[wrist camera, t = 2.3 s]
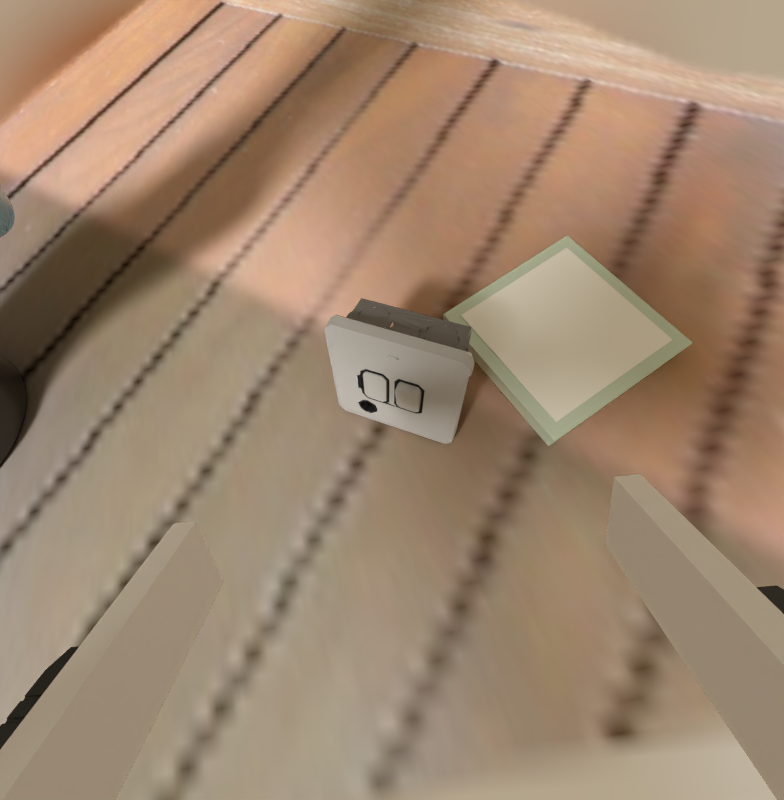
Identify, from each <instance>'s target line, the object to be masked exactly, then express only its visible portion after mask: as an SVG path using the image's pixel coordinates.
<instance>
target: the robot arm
mask: <svg viewBox="0 0 784 800" xmlns="http://www.w3.org/2000/svg"><path fill="white" fill-rule="evenodd" d="M13 224H14V210H13V207H12V205H11V203H10V201H9V199H8V197H7V195H6V194H5V192H4V191H3V189H2V188H1V187H0V238H1V237H2V236H4V235H5V234H6V233H8V232H9V230H10V229H11V228H12V226H13ZM25 408H26V390H25V385H24V382H23V379H22V377H21V375H20V373H19V372H18V370H17V369H16V368H15V367H14V366H13V365H12V364H11V363H10V362H8V361H6V360H4V359H2V358H0V464H1V462H2V461H3V459H4V458H5V457H6V455H7V454H8V452H9V450H10V449H11V447H12V445H13V444H14V442H15V440H16V438H17V435H18V433H19V431H20V428H21V425H22V422H23V418H24V414H25ZM605 545H606V547H607V548H608V550H609V551H610V553H611V554H612V556H613V557H614V559H615V560H616V562H617V563H618V565H619V566H620V568H621V569H622V571H623V572H624V574H625V575H626V577H627V578H628V579H629V581H630V582H631V584H632V585H633V587H634V588H635V590H636V591H637V593H638V594H639V596H640V597H641V599H642V600H643V602H644V603H645V605H646V606H647V608H648V609H649V611H650V612H651V614H652V615H653V617H654V618H655V619H656V621H657V622H658V624H659V625H660V627H661V628H662V630H663V631H664V633H665V634H666V636H667V637H668V639H669V640H670V642H671V643H672V645H673V646H674V648H675V649H676V651H677V652H678V654H679V655H680V656H681V658H682V659H683V661H684V662H685V664H686V665H687V667H688V668H689V670H690V671H691V673H692V674H693V676H694V677H695V679H696V680H697V682H698V683H699V685H700V686H701V688H702V689H703V691H704V692H705V693H706V695H707V696H708V698H709V699H710V701H711V702H712V704H713V705H714V707H715V708H716V710H717V711H718V713H719V714H720V716H721V717H722V719H723V720H724V722H725V723H726V725H727V726H728V728H729V729H730V730H731V732H732V733H733V735H734V736H735V738H736V739H737V741H738V742H739V744H740V745H741V747H742V748H743V750H744V751H745V753H746V754H747V756H748V757H749V759H750V760H751V761H752V763H753V764H754V766H755V767H756V769H757V770H758V772H759V773H760V775H761V776H762V778H763V779H764V781H765V782H766V784H767V785H768V786H769V788H770V790H771V791H772V793H773V794H774V796H775V797H776V798H777V800H784V590H783V589H782V588H780V587H778V586H766V587H755V586H754V585H753V584H752V583H751V582H750V581H749V580H748V579H747V578H746V577H745V576H744V575H743V574H742V573H741V572H740V571H739V570H738V569H737V568H736V567H735V566H734V565H733V564H732V563H731V562H730V561H729V560H728V559H727V558H726V557H725V556H724V555H723V554H722V553H721V552H720V551H719V550H718V549H717V548H716V547H714V546H713V545H712V544H711V543H710V542H709V541H708V540H707V539H706V538H705V537H704V536H703V535H702V534H701V533H700V532H699V531H698V530H697V529H696V528H695V527H694V526H693V525H692V524H691V523H690V522H689V521H688V520H687V519H686V518H685V517H684V516H683V515H682V514H681V513H680V512H679V511H678V510H677V509H676V508H675V507H674V506H673V505H672V504H671V503H669V502H668V501H667V500H666V499H665V498H664V497H663V496H662V495H661V494H660V493H659V492H658V491H657V490H656V489H655V488H654V487H653V486H652V485H651V484H650V483H649V482H648V481H647V480H646V479H645V478H644V477H643V476H642V475H641V474H635V475H626V476H616V477H614V480H613V488H612V496H611V504H610V512H609V520H608V528H607V536H606V544H605ZM223 582H224V581H223V579H222V577H221V575H220V572H219V570H218V568H217V566H216V564H215V561H214V559H213V557H212V555H211V553H210V550H209V548H208V546H207V544H206V542H205V539H204V537H203V535H202V533H201V531H200V528H199V526H198V524H197V522H196V521H193V522H184V523H174V524H173V525H172V526H171V528H170V529H169V530H168V532H167V533H166V534H165V536H164V537H163V538H162V539H161V541H160V542H159V543H158V545H157V546H156V547H155V549H154V550H153V551H152V552H151V554H150V555H149V556H148V558H147V559H146V560H145V562H144V563H143V564H142V565H141V567H140V568H139V569H138V571H137V572H136V573H135V575H134V576H133V577H132V579H131V580H130V581H129V582H128V584H127V585H126V586H125V588H124V589H123V590H122V592H121V593H120V594H119V595H118V597H117V598H116V599H115V601H114V602H113V603H112V605H111V606H110V607H109V609H108V610H107V611H106V612H105V614H104V615H103V616H102V618H101V619H100V620H99V622H98V623H97V624H96V625H95V627H94V628H93V629H92V631H91V632H90V633H89V635H88V636H87V637H86V638H85V640H84V641H83V642H82V644H81V645H80V646H79V647H71V648H70V649H68V650H67V651H66V652H65V653H64V654H63V655H62V656H61V657H60V658H58V659H57V660H56V661H55V662H54V663H53V664H52V665H51V666H49V667H48V668H47V669H46V670H45V671H44V673H43V674H42V675H41V676H40V678H39V679H38V680H37V681H36V683H35V684H34V685H33V686H32V687H31V689H30V690H29V691H28V692H27V694H26V695H25V699H24V700H23V701H20V702H19V704H18V705H17V706H16V707H15V709H14V710H13V711H12V712H11V714H10V715H9V716H8V717H7V721H6V723H5V724H2V725H1V726H0V800H116V798H117V796H118V794H119V792H120V790H121V788H122V786H123V784H124V782H125V780H126V778H127V776H128V774H129V772H130V770H131V768H132V766H133V764H134V762H135V759H136V757H137V755H138V753H139V751H140V749H141V747H142V745H143V743H144V741H145V739H146V737H147V735H148V733H149V731H150V729H151V727H152V725H153V723H154V721H155V719H156V717H157V715H158V713H159V711H160V709H161V707H162V705H163V703H164V701H165V699H166V697H167V695H168V693H169V691H170V689H171V687H172V685H173V683H174V681H175V679H176V677H177V675H178V673H179V671H180V669H181V667H182V665H183V663H184V661H185V659H186V656H187V654H188V652H189V650H190V648H191V646H192V644H193V642H194V640H195V638H196V636H197V634H198V632H199V630H200V628H201V626H202V624H203V622H204V620H205V618H206V616H207V614H208V612H209V610H210V608H211V606H212V604H213V602H214V600H215V598H216V596H217V594H218V592H219V590H220V588H221V586H222V584H223Z"/></svg>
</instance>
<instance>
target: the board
mask: <svg viewBox="0 0 784 800" xmlns="http://www.w3.org/2000/svg"><path fill="white" fill-rule="evenodd" d="M443 320H446V321H450V322H454V323H458V324H462V325H466V326H469V327H471V331H472V332H471V331H470V333H471V337H470V341H469V346H468V351H467V352H470V353H471V354H472V356H473V359H474V361H475V362H476V363H477V364H478V365H479V366H480V368H481V369H482V370H483V371H484V372H485V373H486V374H487V376H488V377H489V378H490V379H491V380H492V381H493V383H494V384H495V385H496V386H497V387H498V388H499V390H500V391H501V392H502V393H503V394H504V395H505V397H506V398H507V399H508V400H509V401H510V402H511V404H512V405H513V406H514V407H515V408H516V409H517V410H518V412H519V413H520V414H521V415H522V416H523V417H524V419H525V420H526V421H527V422H528V423H529V424H530V426H531V427H532V428H533V429H534V430H535V431H536V433H537V434H538V435H539V436H540V437H541V438H542V439H543V441H544V442H545V443H546V444H547V445H548V446H550V445H551V444H553V443H554V442H555V441H557V440H558V439H560V438H561V437H562V436H564V435H565V434H567V433H568V432H569V431H571V430H572V429H574V428H575V427H576V426H578V425H579V424H581V423H582V422H583V421H585V420H586V419H588V418H589V417H590V416H592V415H593V414H595V413H596V412H597V411H599V410H600V409H602V408H603V407H604V406H606V405H607V404H609V403H610V402H611V401H613V400H614V399H616V398H617V397H618V396H620V395H621V394H623V393H624V392H625V391H627V390H628V389H630V388H631V387H632V386H634V385H635V384H637V383H638V382H639V381H641V380H642V379H644V378H645V377H646V376H648V375H649V374H651V373H652V372H653V371H655V370H656V369H658V368H659V367H660V366H662V365H663V364H665V363H666V362H668V361H669V360H670V359H672V358H673V357H675V356H676V355H677V354H679V353H680V352H681V351H683V350H684V349H685V348H687V347H688V346H689V345H691V344H692V343H693V342H691V341H690V340H689V339H688V338H687V337H686V336H684V335H683V334H682V333H681V332H680V331H679V330H677V329H676V328H675V327H674V326H673V325H672V324H670V323H669V322H668V321H667V320H666V319H665V318H663V317H662V316H661V315H660V314H659V313H658V312H656V311H655V310H654V309H653V308H652V307H650V306H649V305H648V304H647V303H646V302H645V301H643V300H642V299H641V298H640V297H639V296H638V295H636V294H635V293H634V292H633V291H632V290H631V289H629V288H628V287H627V286H626V285H625V284H624V283H622V282H621V281H620V280H619V279H618V278H617V277H615V276H614V275H613V274H612V273H611V272H610V271H608V270H607V269H606V268H605V267H604V266H602V265H601V264H600V263H599V262H598V261H597V260H595V259H594V258H593V257H592V256H591V255H590V254H588V253H587V252H586V251H585V250H584V249H583V248H581V247H580V246H579V245H578V244H577V243H576V242H574V241H573V240H572V239H571V238H570V237H569V236H565V237H564V238H562V239H561V240H559V241H557V242H556V243H554V244H553V245H551V246H550V247H548V248H546V249H545V250H543V251H542V252H540V253H539V254H537V255H535V256H534V257H532V258H531V259H529V260H528V261H526V262H524V263H523V264H521V265H520V266H518V267H517V268H515V269H513V270H512V271H510V272H509V273H507V274H506V275H504V276H502V277H501V278H499V279H498V280H496V281H495V282H493V283H491V284H490V285H488V286H487V287H485V288H484V289H482V290H480V291H479V292H477V293H476V294H474V295H472V296H471V297H469V298H468V299H466V300H465V301H463V302H461V303H460V304H458V305H457V306H455V307H454V308H452V309H450V310H449V311H447V312H446V313H444V314H443ZM446 326H447V325H446ZM469 335H470V334H469ZM458 338H459V336H458ZM468 338H469V337H468Z"/></svg>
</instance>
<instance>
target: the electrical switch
mask: <svg viewBox="0 0 784 800" xmlns="http://www.w3.org/2000/svg"><path fill="white" fill-rule="evenodd" d="M372 307H376V308H372ZM392 322H393V323H394V326H393V327H391V328H390V326H391V323H392ZM446 325H447V326H446ZM384 327H386V328H384ZM428 328H429V329H428ZM427 329H428V330H427ZM420 330H421V332H420ZM426 330H427V331H426ZM324 331H325V336H326V341H327V346H328V351H329V356H330V361H331V366H332V371H333V376H334V381H335V386H336V391H337V397H338V402H339V405H340V406H341V407H342V408H343V409H344V410H346V411H348V412H351V413H354V414H357V415H360V416H363V417H366V418H369V419H372V420H375V421H378V422H381V423H384V424H387V425H390V426H393V427H396V428H399V429H402V430H405V431H408V432H411V433H414V434H417V435H420V436H423V437H426V438H429V439H431V440H434V441H437V442H440V443H444V444H448V443H452V440H453V438H454V436H455V434H456V431H457V427H458V422H459V418H460V413H461V409H462V405H463V401H464V397H465V392H466V388H467V384H468V380H469V376H471V375H472V372H473V368H474V359H473V356H472V354H471V353H470V352H467V351H468V346H469V341H470V337H471V333H470V331H471V327H469V326H466V325H462V324H458V323H454V322H450V321H446V320H443V319H439V318H435V317H431V316H427V315H424V314H420V313H416V312H412V311H408V310H404V309H401V308H397V307H393V306H389V305H385V304H381V303H378V302H374V301H370V300H366V299H362V298H361V300H360V301H359V303H358V304H357V306H356V307H355V309H354V310H353V311H352V312H351V313H349V314H348V316H347V317H342V316H339V315H334V316H333V317H331V318H330V320H329V322H328V323H327V325H326V327H325V328H324ZM419 332H420V334H419ZM471 332H472V331H471ZM469 334H470V335H469ZM458 336H459V338H458ZM468 337H469V338H468ZM425 339H426V340H425Z"/></svg>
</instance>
